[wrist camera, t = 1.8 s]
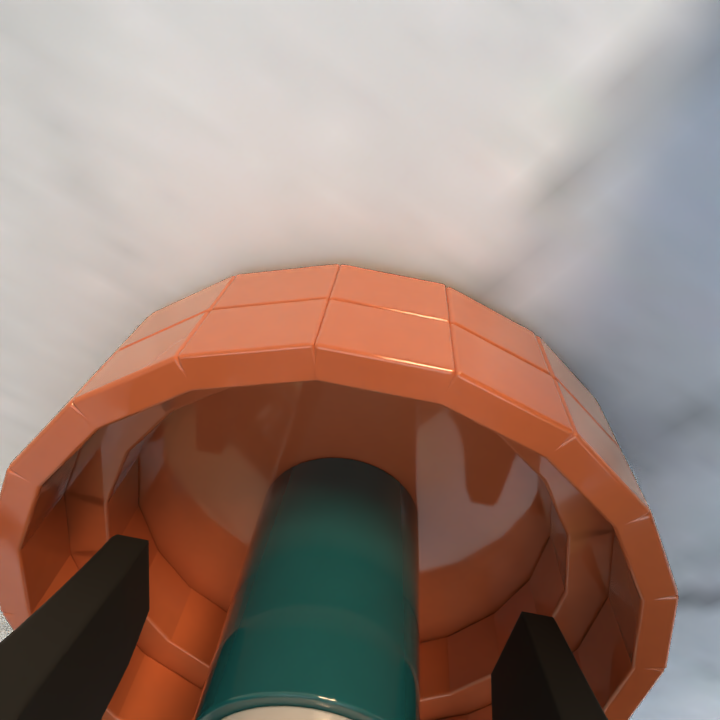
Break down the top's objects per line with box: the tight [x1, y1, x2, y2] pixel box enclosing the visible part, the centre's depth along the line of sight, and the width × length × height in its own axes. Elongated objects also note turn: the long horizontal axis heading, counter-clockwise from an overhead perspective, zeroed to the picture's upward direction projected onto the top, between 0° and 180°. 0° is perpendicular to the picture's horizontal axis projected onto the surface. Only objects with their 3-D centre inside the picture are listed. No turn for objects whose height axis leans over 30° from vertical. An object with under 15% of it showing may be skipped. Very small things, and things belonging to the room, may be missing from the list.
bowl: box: [0, 264, 679, 720], centre depth 12 cm, size 12×12×4 cm
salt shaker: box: [193, 458, 420, 720], centre depth 11 cm, size 4×4×6 cm
